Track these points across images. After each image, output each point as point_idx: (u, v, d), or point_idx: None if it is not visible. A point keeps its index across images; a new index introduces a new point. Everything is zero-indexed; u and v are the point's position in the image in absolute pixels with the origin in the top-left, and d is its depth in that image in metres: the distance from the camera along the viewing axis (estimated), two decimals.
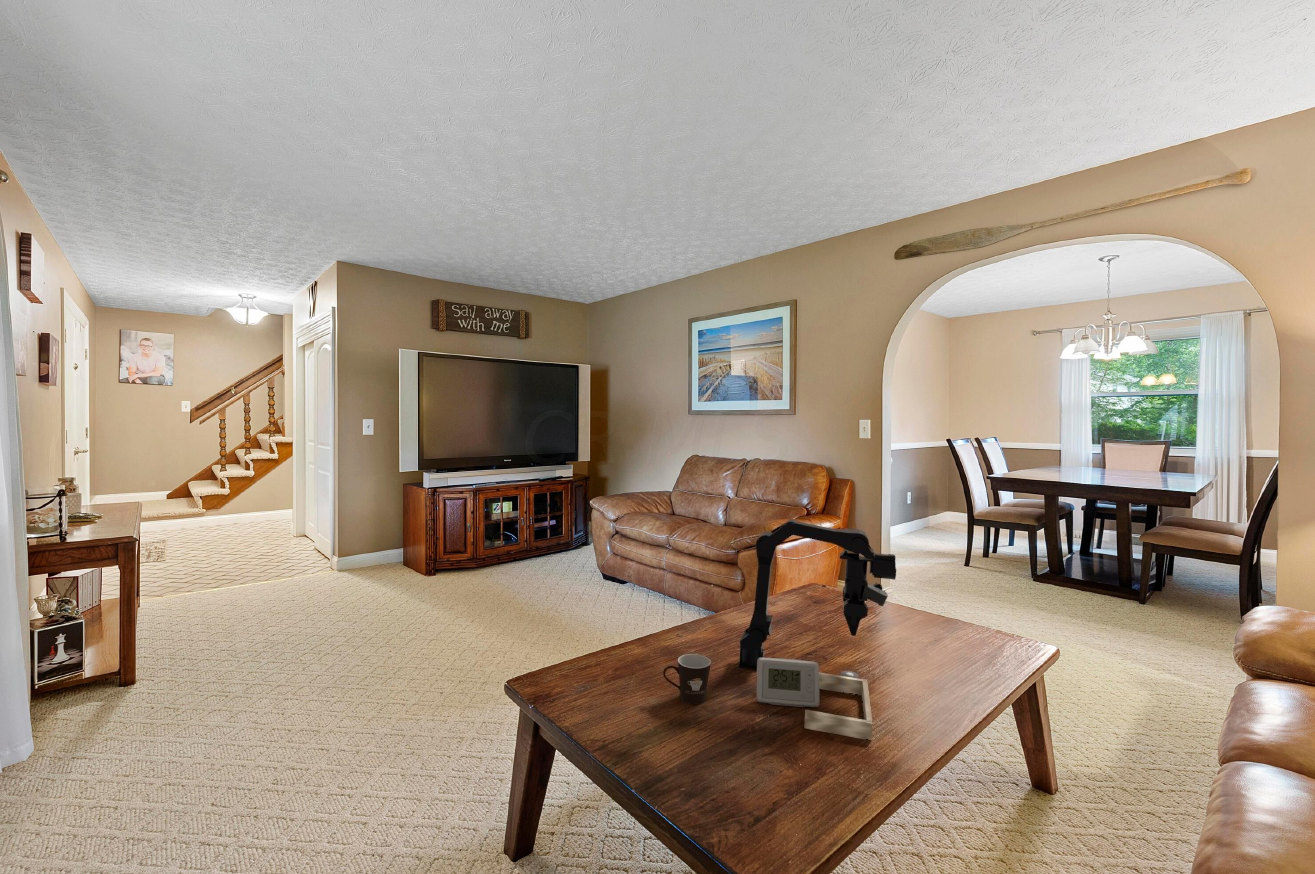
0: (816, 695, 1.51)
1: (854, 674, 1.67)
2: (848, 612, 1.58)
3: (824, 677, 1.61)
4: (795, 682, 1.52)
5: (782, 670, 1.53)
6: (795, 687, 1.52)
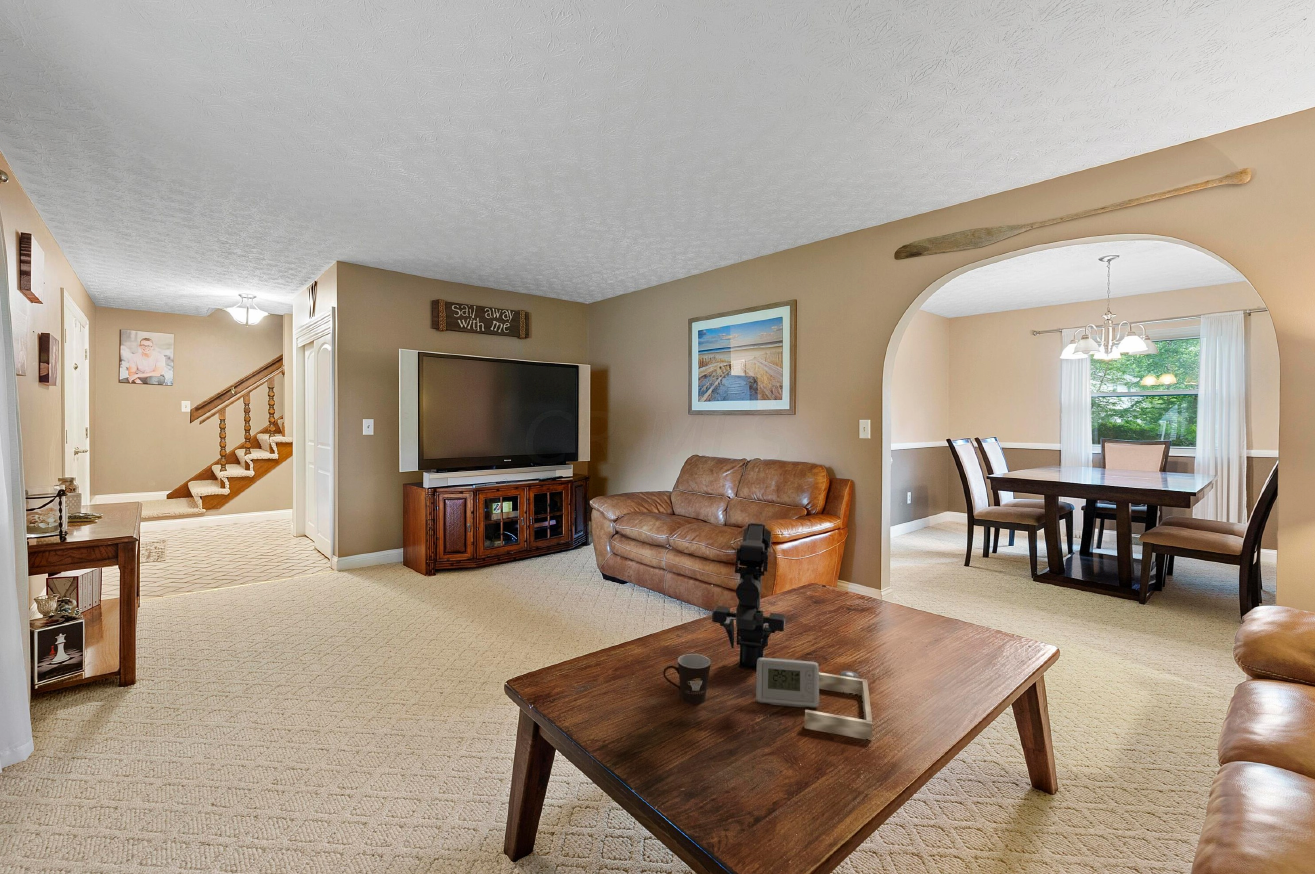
0: (816, 695, 1.51)
1: (854, 674, 1.67)
2: None
3: (824, 677, 1.61)
4: (794, 682, 1.52)
5: (782, 671, 1.53)
6: (795, 687, 1.52)
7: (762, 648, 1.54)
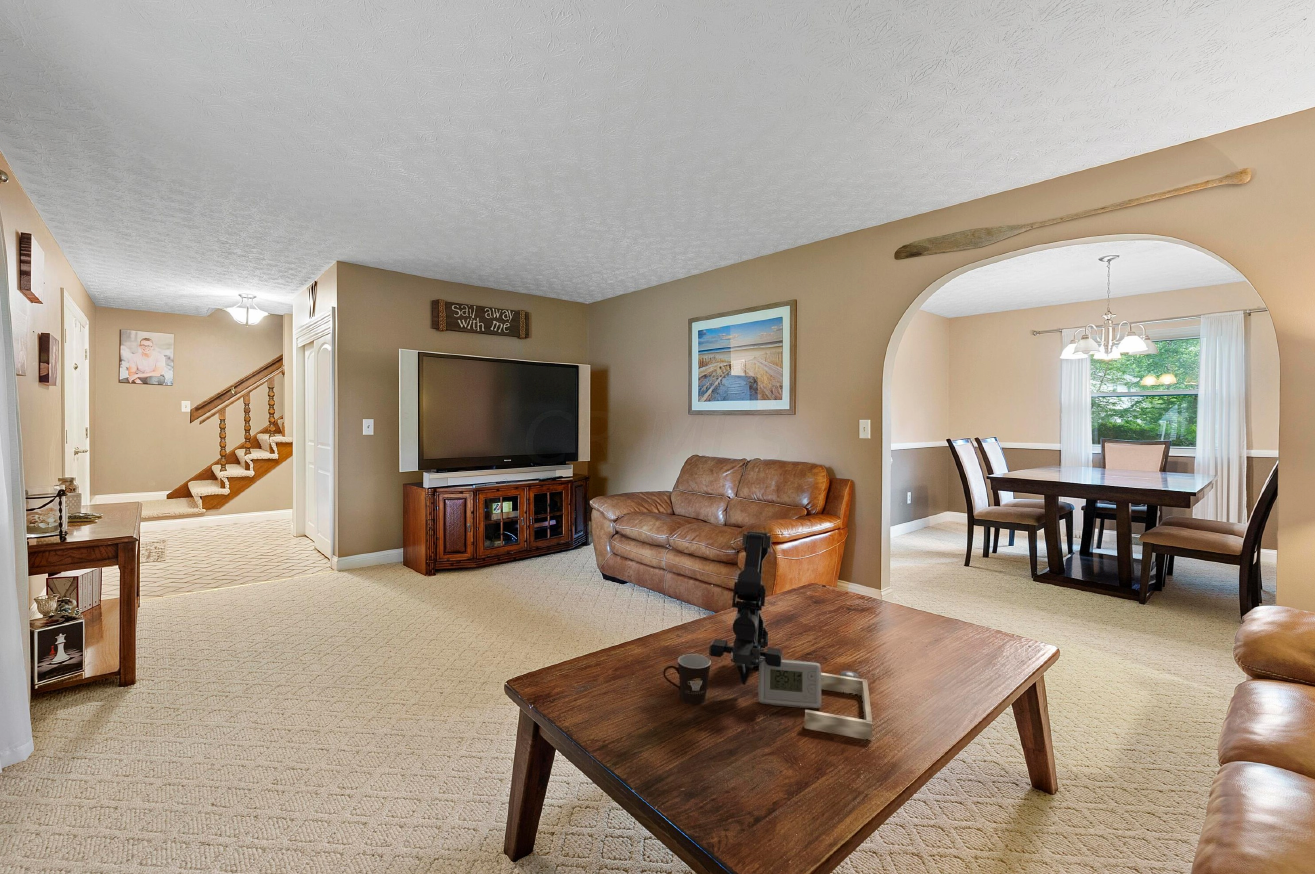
0: (818, 696, 1.51)
1: (854, 674, 1.67)
2: None
3: (824, 677, 1.61)
4: (796, 683, 1.52)
5: (784, 671, 1.53)
6: (797, 688, 1.52)
7: (745, 680, 1.55)
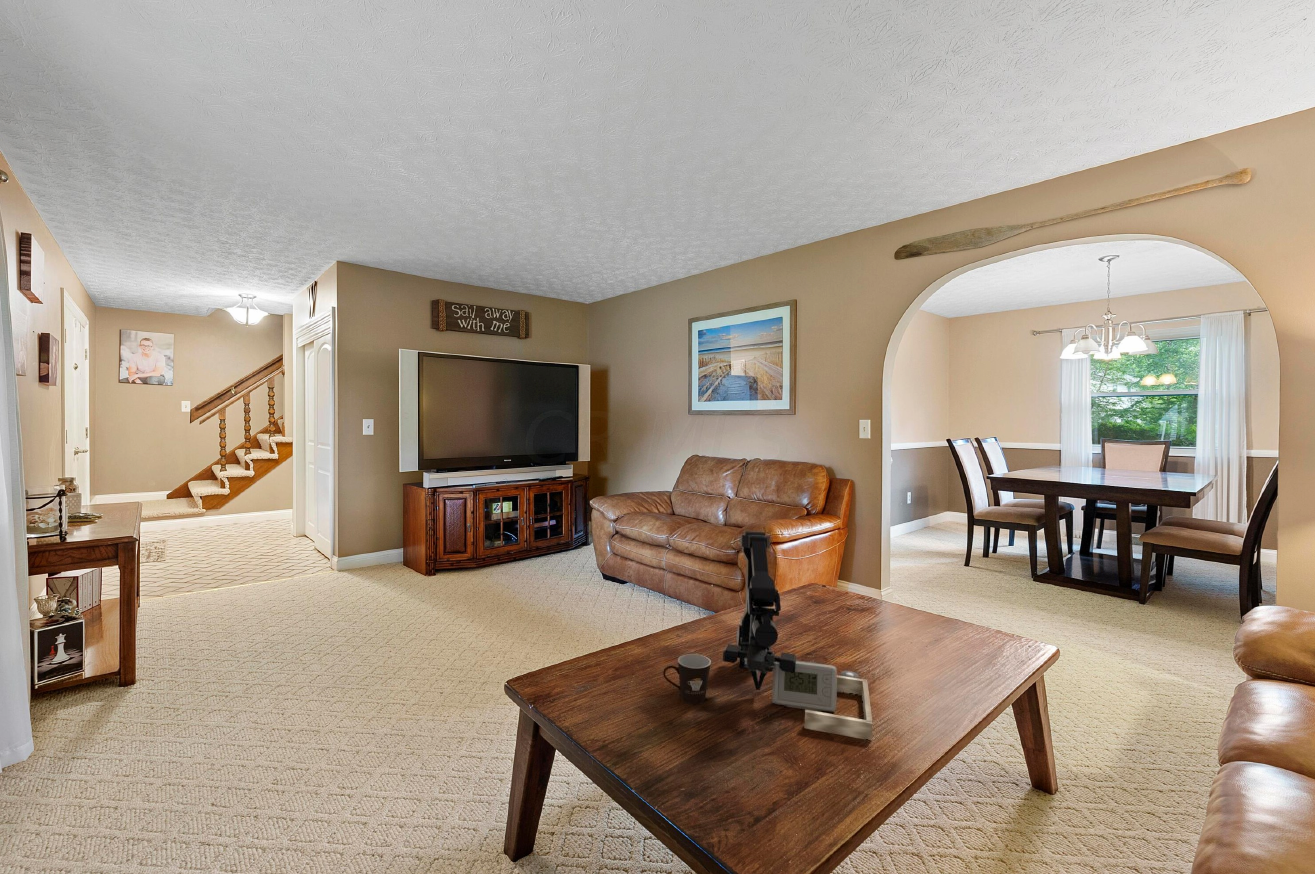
0: (833, 699, 1.49)
1: (854, 674, 1.67)
2: None
3: None
4: (811, 685, 1.51)
5: (799, 673, 1.52)
6: (812, 690, 1.50)
7: (759, 686, 1.55)
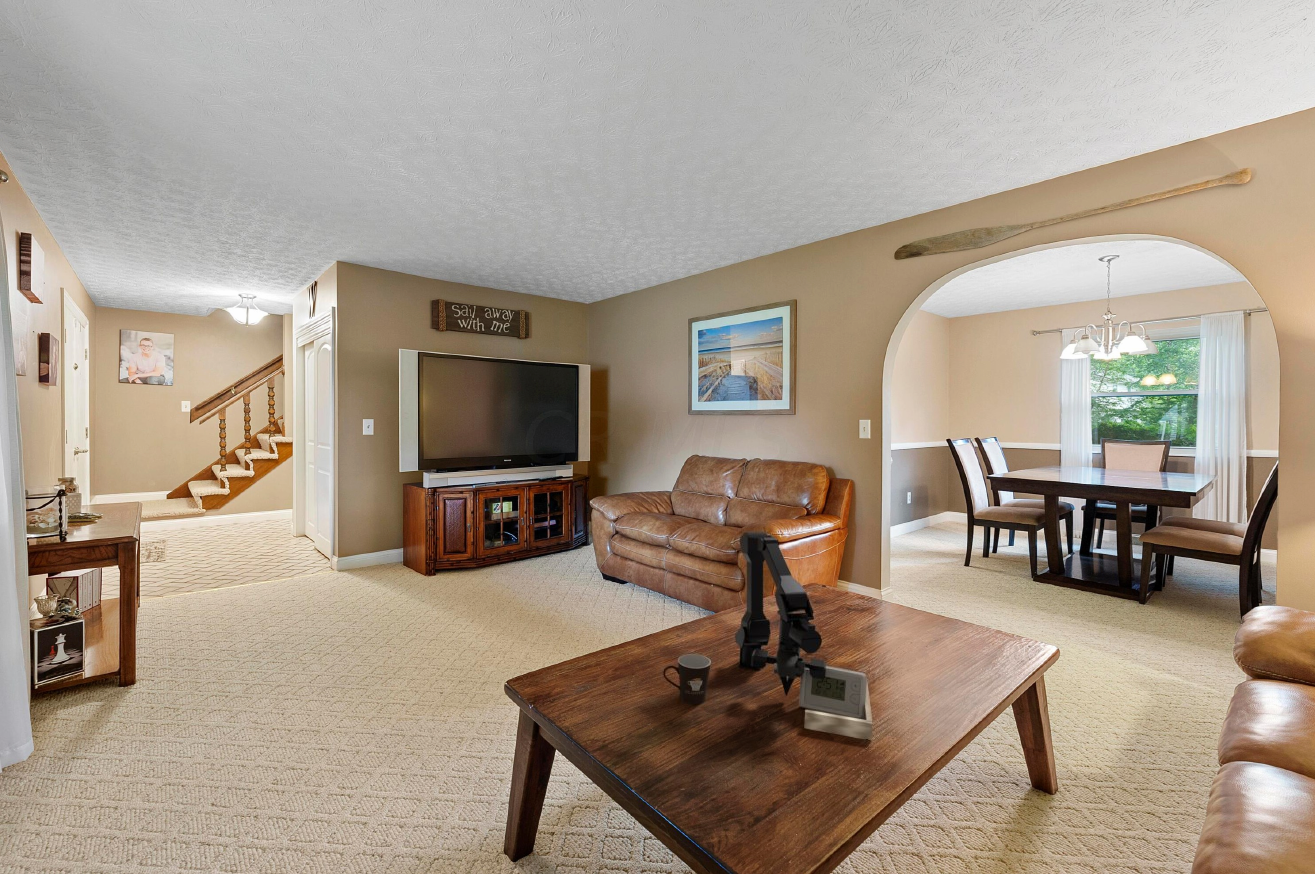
0: (861, 707, 1.45)
1: None
2: None
3: None
4: (839, 691, 1.48)
5: (826, 678, 1.50)
6: (839, 696, 1.48)
7: (787, 691, 1.53)
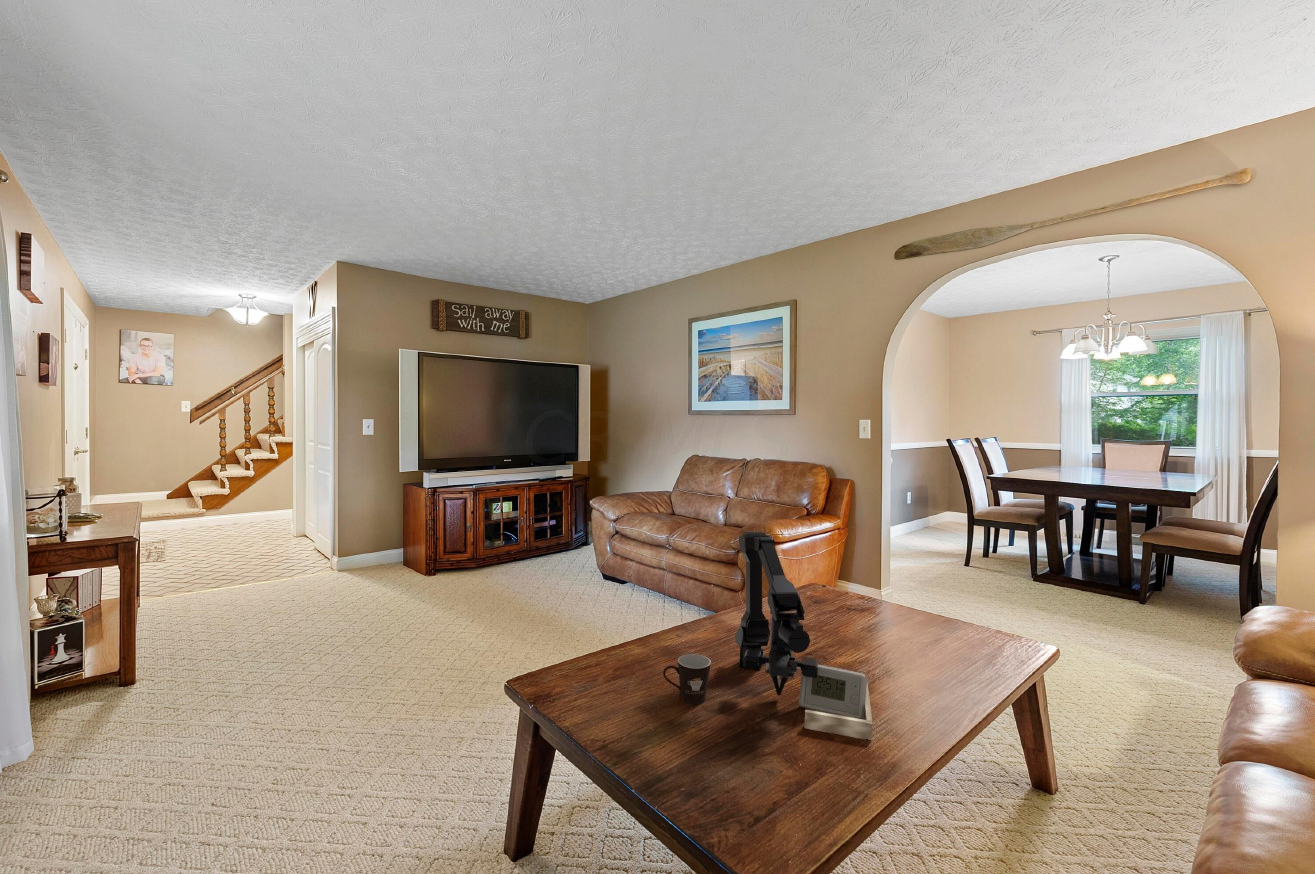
0: (861, 708, 1.45)
1: None
2: None
3: None
4: (839, 691, 1.48)
5: (826, 678, 1.50)
6: (839, 696, 1.48)
7: (780, 691, 1.54)
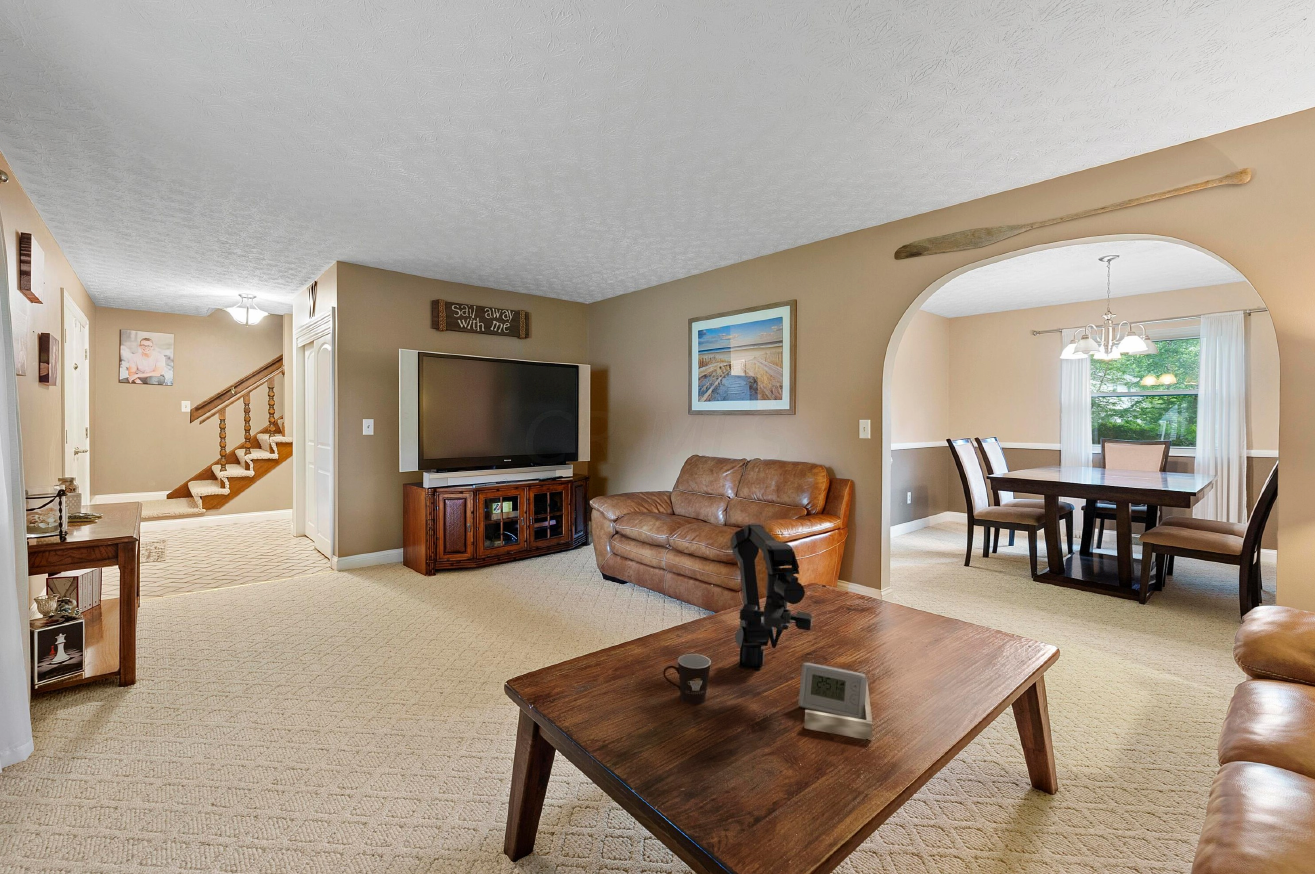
0: (860, 708, 1.45)
1: None
2: None
3: None
4: (839, 691, 1.48)
5: (826, 678, 1.50)
6: (839, 696, 1.48)
7: (775, 644, 1.58)
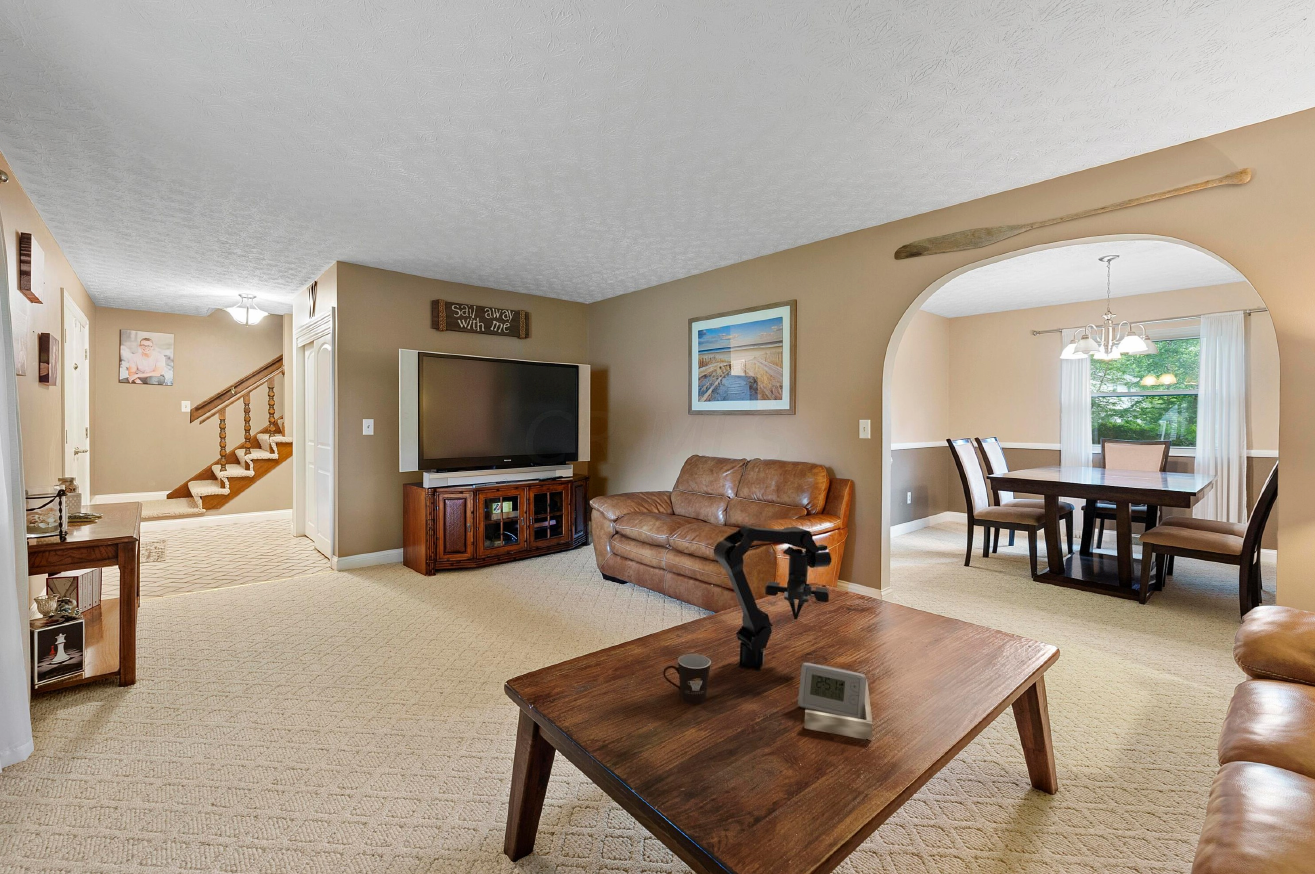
0: (860, 708, 1.45)
1: None
2: None
3: None
4: (838, 692, 1.48)
5: (826, 678, 1.50)
6: (839, 696, 1.48)
7: (797, 615, 1.80)
